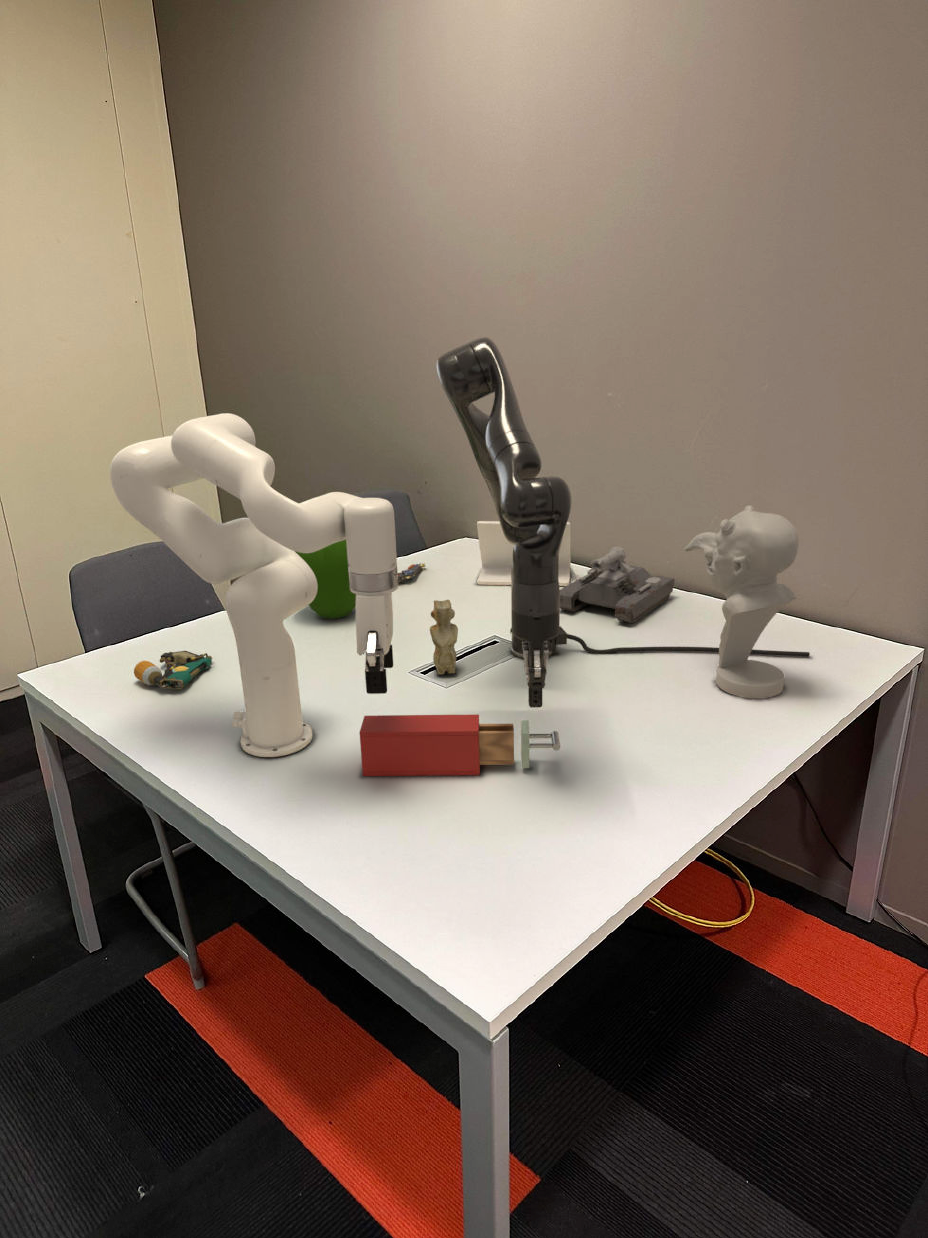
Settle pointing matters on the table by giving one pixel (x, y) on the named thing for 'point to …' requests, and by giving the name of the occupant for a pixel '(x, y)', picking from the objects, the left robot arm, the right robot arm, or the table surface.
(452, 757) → the cabinet
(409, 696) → the table surface
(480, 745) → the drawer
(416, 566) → the toy gun
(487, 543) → the tablet stand
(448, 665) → the sculpture
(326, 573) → the vase
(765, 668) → the bust sculpture
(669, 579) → the toy
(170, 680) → the green toy blaster
